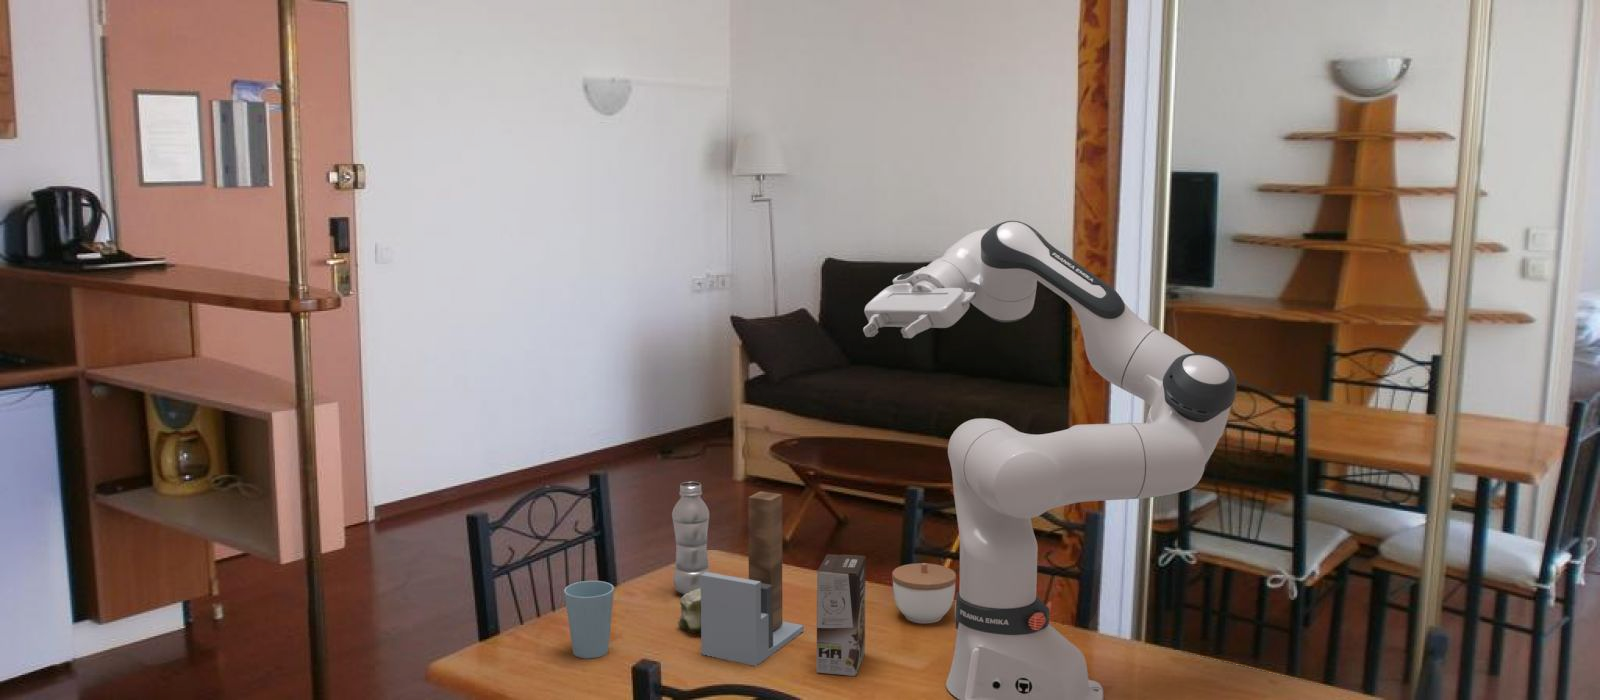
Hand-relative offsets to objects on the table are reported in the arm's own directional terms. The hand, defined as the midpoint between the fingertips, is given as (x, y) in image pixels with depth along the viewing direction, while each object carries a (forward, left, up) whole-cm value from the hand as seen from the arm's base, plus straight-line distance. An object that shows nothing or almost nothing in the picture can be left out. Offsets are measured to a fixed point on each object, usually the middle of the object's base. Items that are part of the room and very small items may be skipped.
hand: (885, 334), depth 207 cm
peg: (+13, +18, -47) cm, 52 cm away
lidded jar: (-7, -1, -48) cm, 49 cm away
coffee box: (-3, +23, -48) cm, 54 cm away
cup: (+34, +37, -48) cm, 70 cm away
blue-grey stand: (+13, +22, -48) cm, 54 cm away
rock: (+23, +21, -48) cm, 57 cm away
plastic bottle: (+34, +7, -48) cm, 59 cm away
